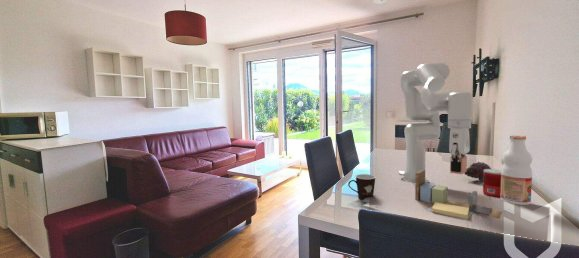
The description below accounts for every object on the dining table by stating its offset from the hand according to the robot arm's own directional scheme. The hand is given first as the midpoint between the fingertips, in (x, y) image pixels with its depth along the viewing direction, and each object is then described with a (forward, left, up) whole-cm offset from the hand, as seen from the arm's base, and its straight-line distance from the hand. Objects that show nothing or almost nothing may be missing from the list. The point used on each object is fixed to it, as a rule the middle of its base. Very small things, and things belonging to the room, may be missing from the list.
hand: (458, 169), depth 101 cm
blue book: (-11, 0, -15) cm, 18 cm away
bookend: (+7, 0, -15) cm, 16 cm away
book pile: (-1, -8, -16) cm, 18 cm away
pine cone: (-2, +51, -16) cm, 54 cm away
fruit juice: (+15, +21, -16) cm, 31 cm away
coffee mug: (-35, -13, -16) cm, 40 cm away
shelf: (-1, 0, -16) cm, 16 cm away
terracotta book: (0, 0, -1) cm, 1 cm away
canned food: (+7, +29, -16) cm, 34 cm away
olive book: (-6, 0, -15) cm, 16 cm away
